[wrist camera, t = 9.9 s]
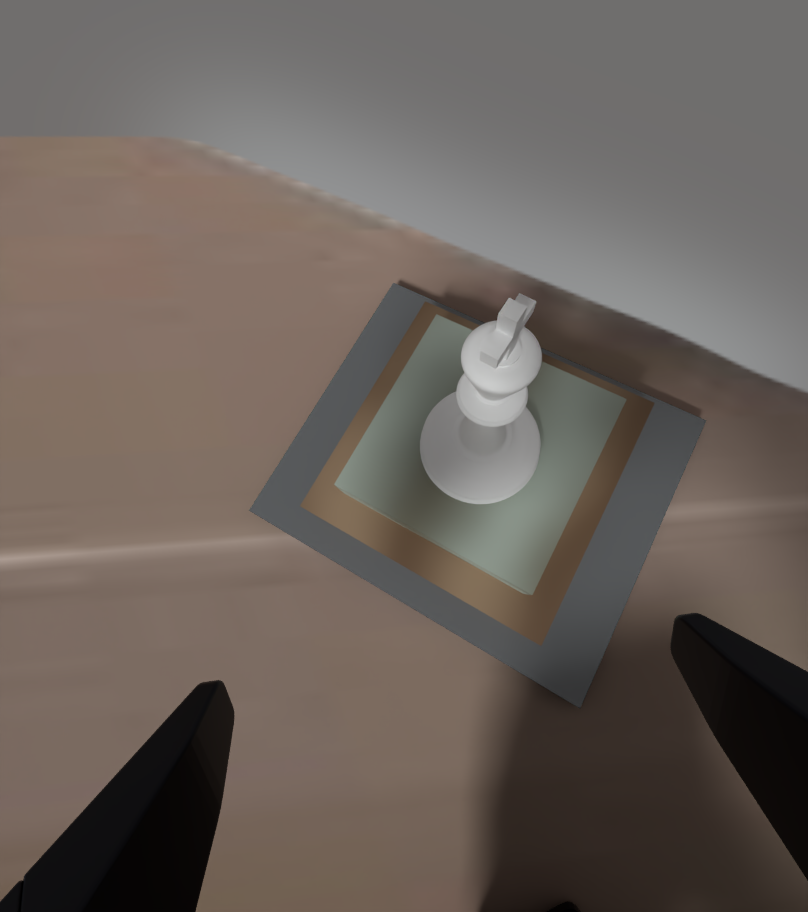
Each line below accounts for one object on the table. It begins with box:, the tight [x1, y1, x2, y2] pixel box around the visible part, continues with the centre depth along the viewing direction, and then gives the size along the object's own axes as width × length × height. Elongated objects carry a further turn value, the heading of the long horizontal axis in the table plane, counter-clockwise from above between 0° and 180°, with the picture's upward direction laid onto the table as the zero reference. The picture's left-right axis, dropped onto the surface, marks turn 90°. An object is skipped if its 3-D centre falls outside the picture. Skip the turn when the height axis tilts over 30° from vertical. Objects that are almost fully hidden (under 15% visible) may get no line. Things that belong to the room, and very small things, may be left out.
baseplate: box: [249, 283, 706, 708], centre depth 24 cm, size 18×15×1 cm
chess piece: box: [420, 293, 542, 504], centre depth 14 cm, size 5×5×10 cm
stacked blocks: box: [300, 301, 655, 646], centre depth 21 cm, size 12×12×4 cm
